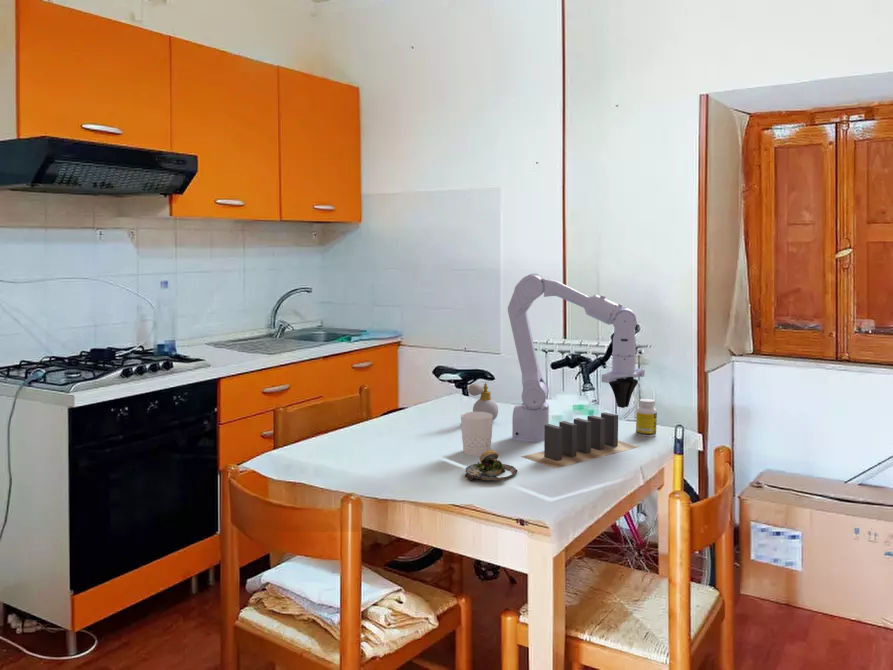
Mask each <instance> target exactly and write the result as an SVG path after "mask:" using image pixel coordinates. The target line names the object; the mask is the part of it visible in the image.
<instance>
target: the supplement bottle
mask: <svg viewBox="0 0 893 670" xmlns="http://www.w3.org/2000/svg"><path fill="white" fill-rule="evenodd" d="M638 403H639V406H638V407H637V408H636V416H635V418H636V420H635V422H636V423H635V434H636V435H639V436H644V437H650V438H654V437H657V420H658V419H657V418H658V417H657V415H658V411H657V409H656V407H655V405H656V404H655V399H652V398H639V402H638Z"/></svg>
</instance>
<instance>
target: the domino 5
mask: <svg viewBox="0 0 893 670" xmlns="http://www.w3.org/2000/svg"><path fill="white" fill-rule="evenodd" d="M600 417H601V418H605V439H604V444H605V445H608V446H612V447H615V446H618V441H619V415H618V414H614V413H609V412H604V411H603V412H601V413H600Z"/></svg>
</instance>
